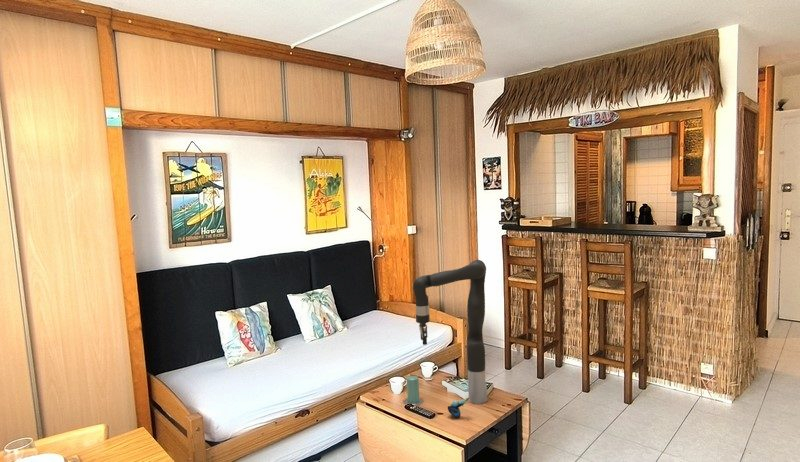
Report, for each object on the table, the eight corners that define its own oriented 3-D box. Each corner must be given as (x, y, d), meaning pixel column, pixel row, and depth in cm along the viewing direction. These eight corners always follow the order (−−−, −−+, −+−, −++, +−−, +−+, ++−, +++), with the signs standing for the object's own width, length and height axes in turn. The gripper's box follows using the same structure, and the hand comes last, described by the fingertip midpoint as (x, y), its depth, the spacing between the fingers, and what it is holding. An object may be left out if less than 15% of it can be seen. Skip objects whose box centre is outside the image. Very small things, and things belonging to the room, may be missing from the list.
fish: (467, 420, 238) (467, 400, 237) (447, 419, 240) (446, 399, 239) (468, 416, 242) (467, 396, 242) (448, 415, 244) (447, 395, 244)
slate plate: (422, 397, 267) (422, 396, 266) (424, 406, 256) (424, 405, 256) (402, 398, 266) (402, 397, 266) (404, 407, 255) (404, 406, 255)
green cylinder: (418, 398, 264) (417, 375, 263) (420, 403, 258) (418, 379, 257) (407, 399, 264) (405, 376, 262) (408, 404, 257) (407, 380, 256)
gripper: (431, 316, 258) (432, 345, 260) (427, 309, 272) (428, 337, 274) (417, 317, 258) (418, 346, 259) (414, 310, 272) (415, 338, 273)
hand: (423, 342), depth 266 cm, fingers open, 8 cm apart
